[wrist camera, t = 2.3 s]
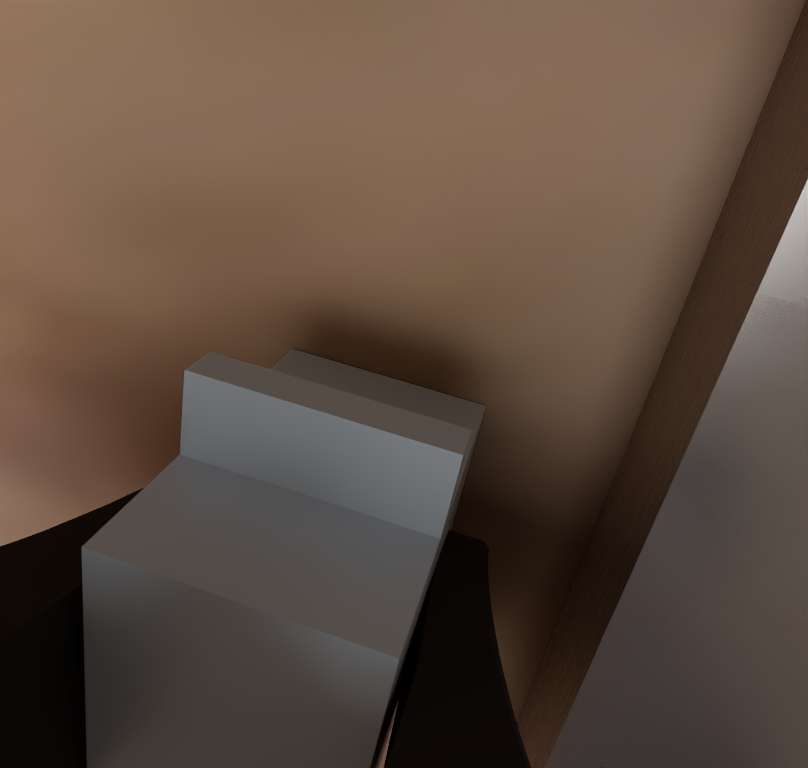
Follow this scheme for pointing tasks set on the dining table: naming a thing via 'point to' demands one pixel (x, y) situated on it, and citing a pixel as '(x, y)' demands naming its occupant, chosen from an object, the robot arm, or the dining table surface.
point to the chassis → (706, 509)
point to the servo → (272, 569)
